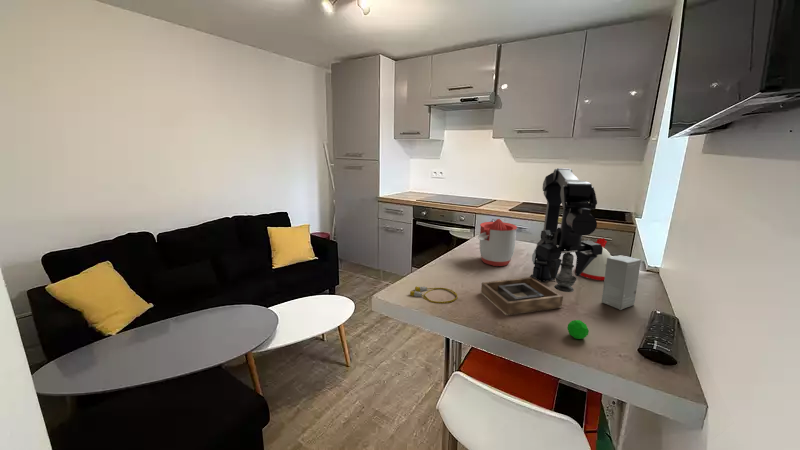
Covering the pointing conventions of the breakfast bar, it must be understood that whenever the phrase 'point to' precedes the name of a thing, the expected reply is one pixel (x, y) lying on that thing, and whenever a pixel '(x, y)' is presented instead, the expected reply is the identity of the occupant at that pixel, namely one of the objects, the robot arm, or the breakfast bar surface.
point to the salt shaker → (565, 274)
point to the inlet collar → (509, 290)
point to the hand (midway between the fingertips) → (565, 277)
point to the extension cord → (419, 294)
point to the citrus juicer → (497, 242)
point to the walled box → (521, 306)
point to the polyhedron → (577, 329)
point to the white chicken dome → (597, 264)
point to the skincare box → (620, 281)
